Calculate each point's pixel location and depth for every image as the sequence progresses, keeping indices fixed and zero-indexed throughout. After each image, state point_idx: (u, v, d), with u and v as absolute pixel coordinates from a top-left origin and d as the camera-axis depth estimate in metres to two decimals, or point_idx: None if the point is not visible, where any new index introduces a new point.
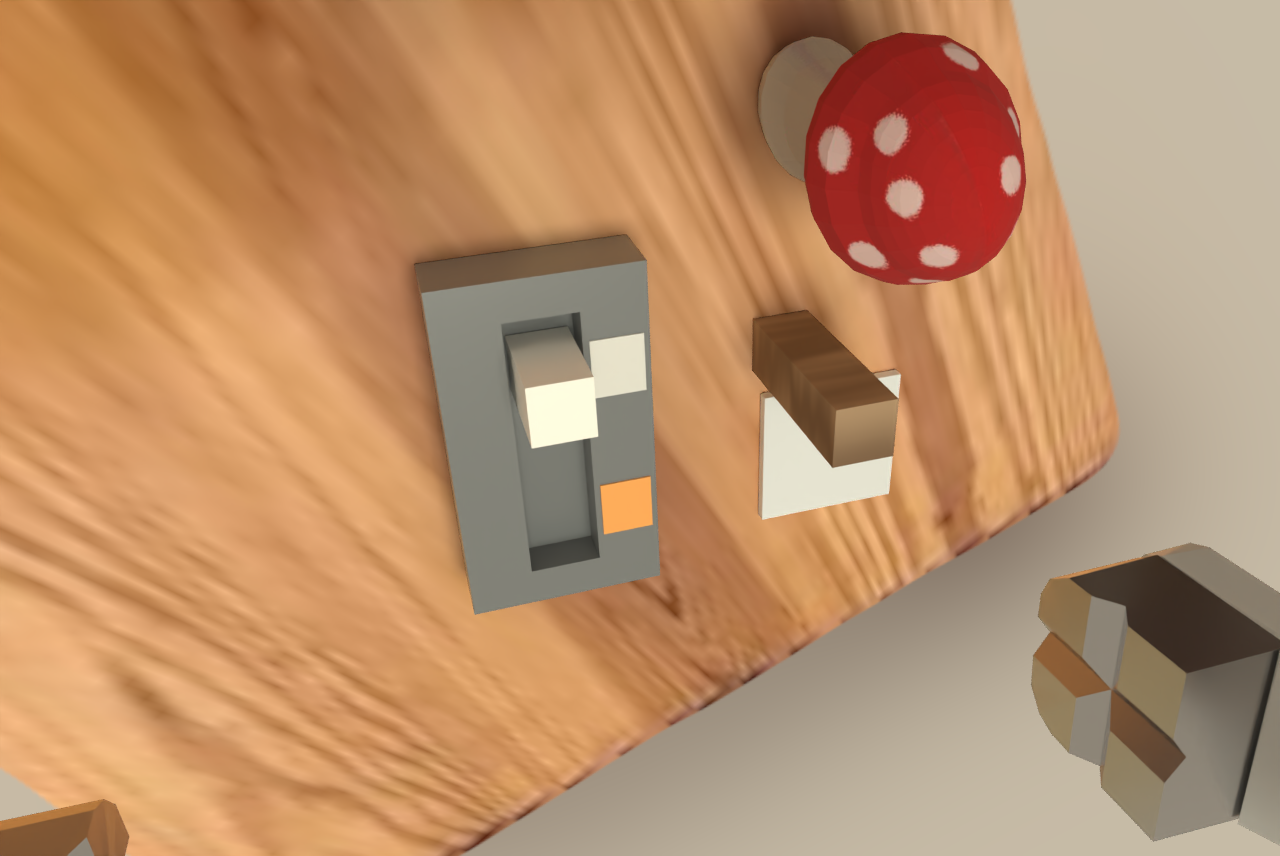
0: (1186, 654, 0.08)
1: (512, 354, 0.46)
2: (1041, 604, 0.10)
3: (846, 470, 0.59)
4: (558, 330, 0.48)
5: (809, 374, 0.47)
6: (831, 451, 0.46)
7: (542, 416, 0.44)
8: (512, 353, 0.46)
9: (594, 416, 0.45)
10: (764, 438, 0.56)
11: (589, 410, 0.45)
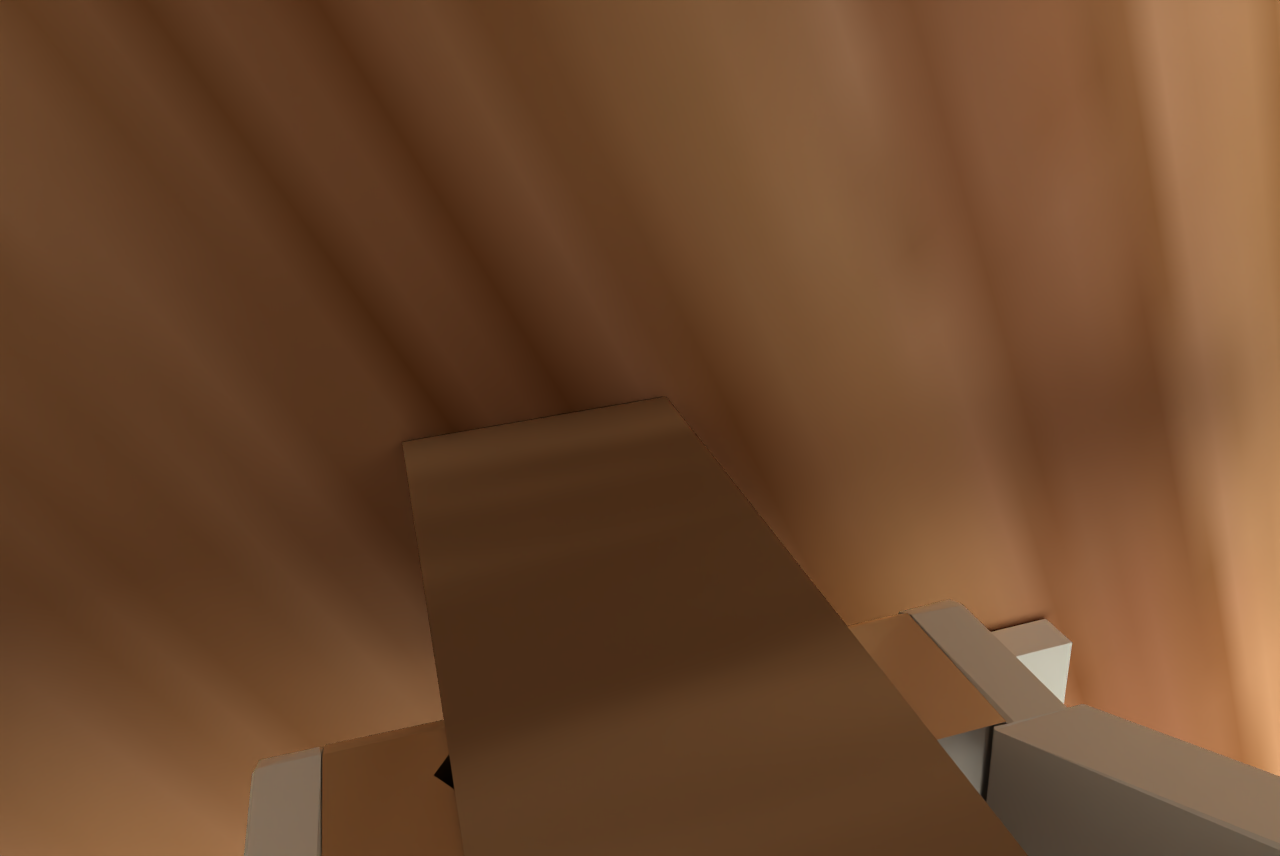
0: None
1: None
2: None
3: None
4: None
5: None
6: None
7: None
8: None
9: None
10: None
11: None
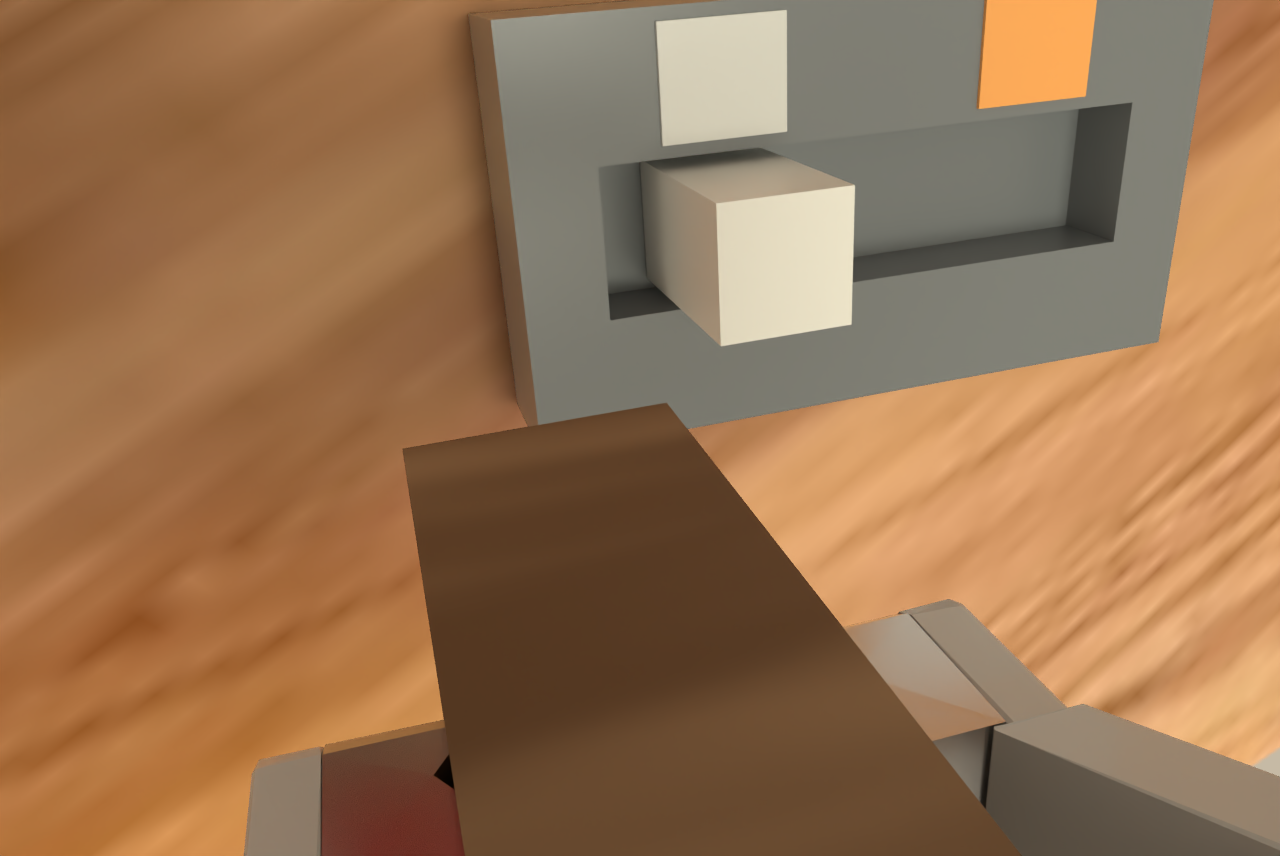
0: None
1: (671, 298, 0.24)
2: None
3: None
4: (644, 181, 0.25)
5: None
6: None
7: (787, 306, 0.21)
8: (670, 297, 0.24)
9: (807, 196, 0.21)
10: None
11: (791, 208, 0.21)
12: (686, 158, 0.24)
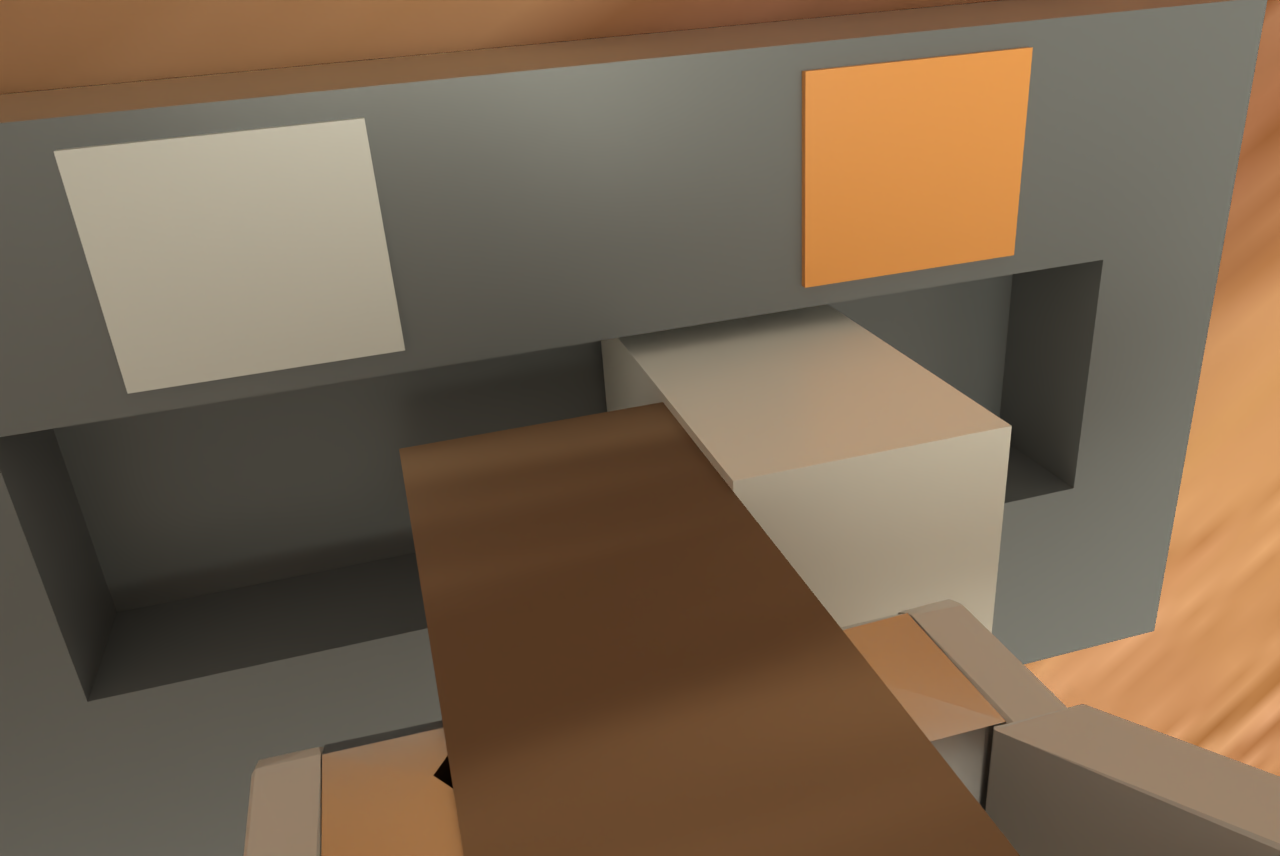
0: None
1: None
2: None
3: None
4: (605, 353, 0.14)
5: None
6: None
7: None
8: None
9: (917, 452, 0.10)
10: None
11: (885, 478, 0.10)
12: None
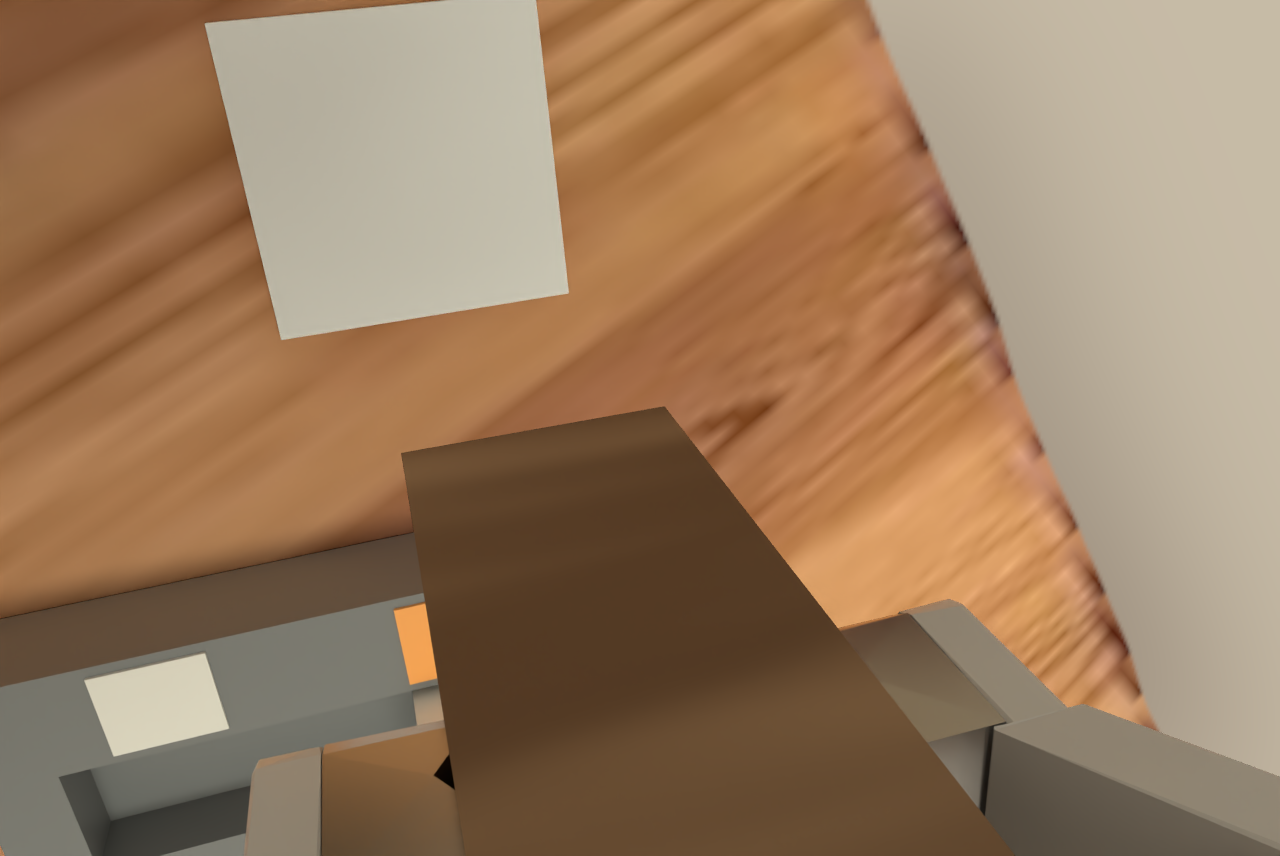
0: None
1: None
2: None
3: (463, 119, 0.27)
4: None
5: None
6: None
7: None
8: None
9: None
10: (375, 323, 0.28)
11: None
12: None
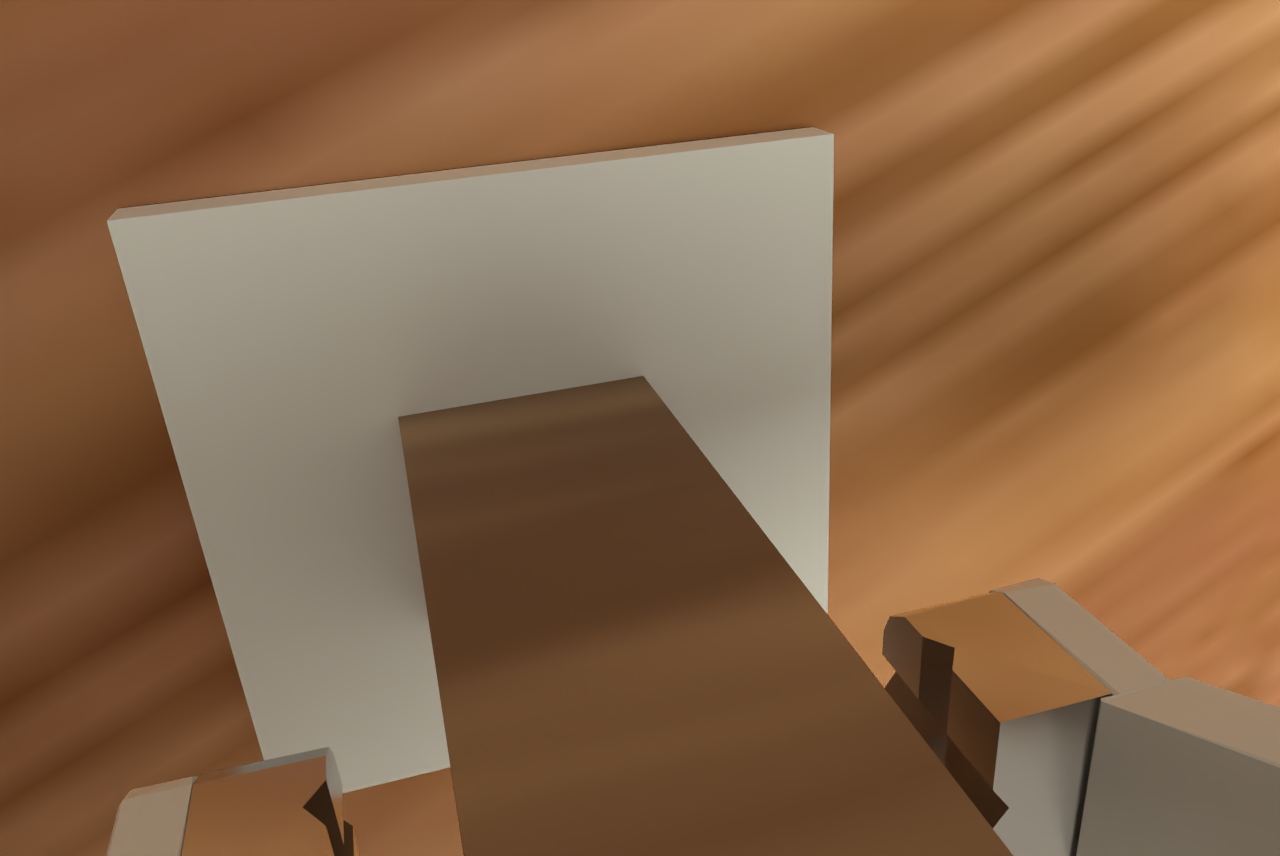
0: (1005, 702, 0.08)
1: None
2: (884, 642, 0.09)
3: (664, 389, 0.13)
4: None
5: (503, 816, 0.06)
6: None
7: None
8: None
9: None
10: None
11: None
12: None
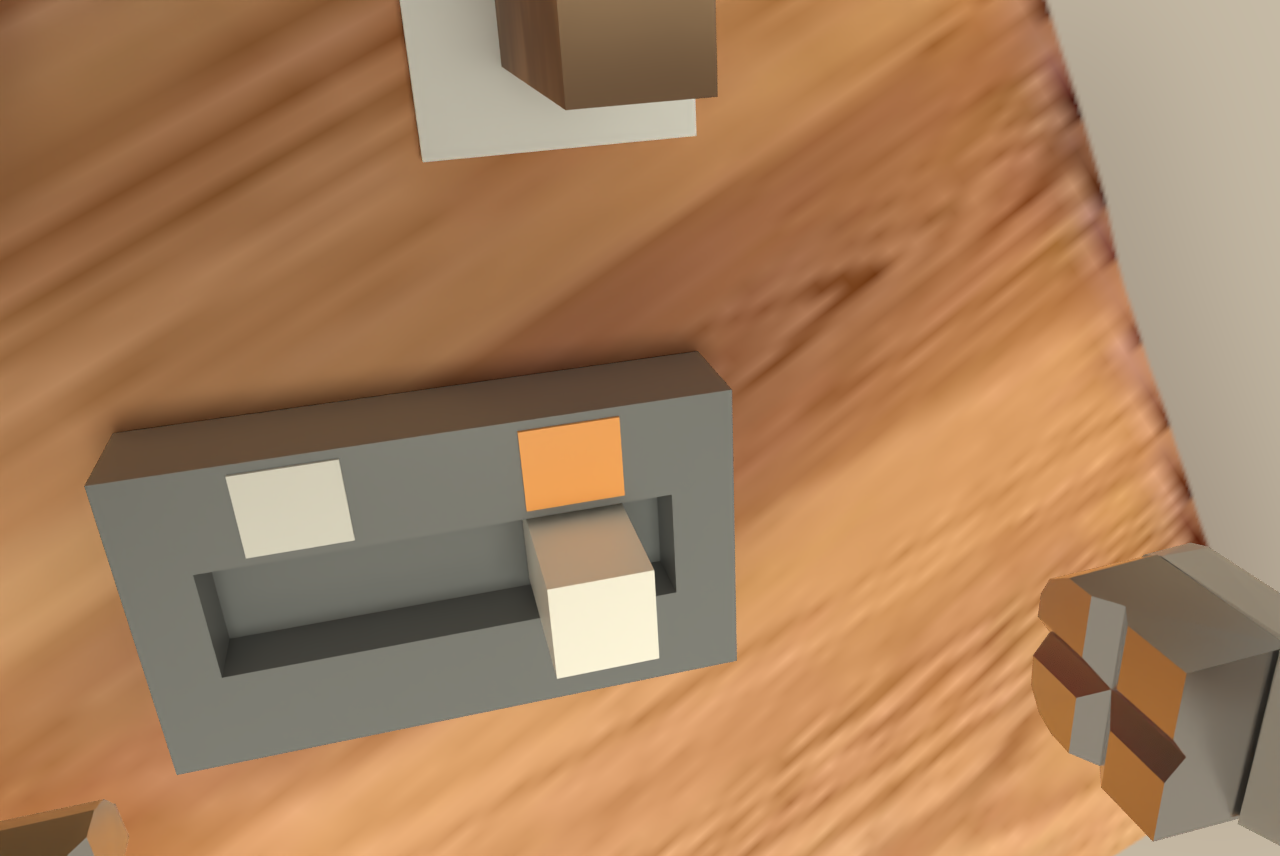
0: (1186, 654, 0.08)
1: (539, 610, 0.32)
2: (1041, 604, 0.10)
3: None
4: None
5: None
6: (560, 66, 0.19)
7: (607, 650, 0.29)
8: (538, 609, 0.32)
9: (617, 579, 0.28)
10: (512, 152, 0.29)
11: (605, 588, 0.28)
12: None
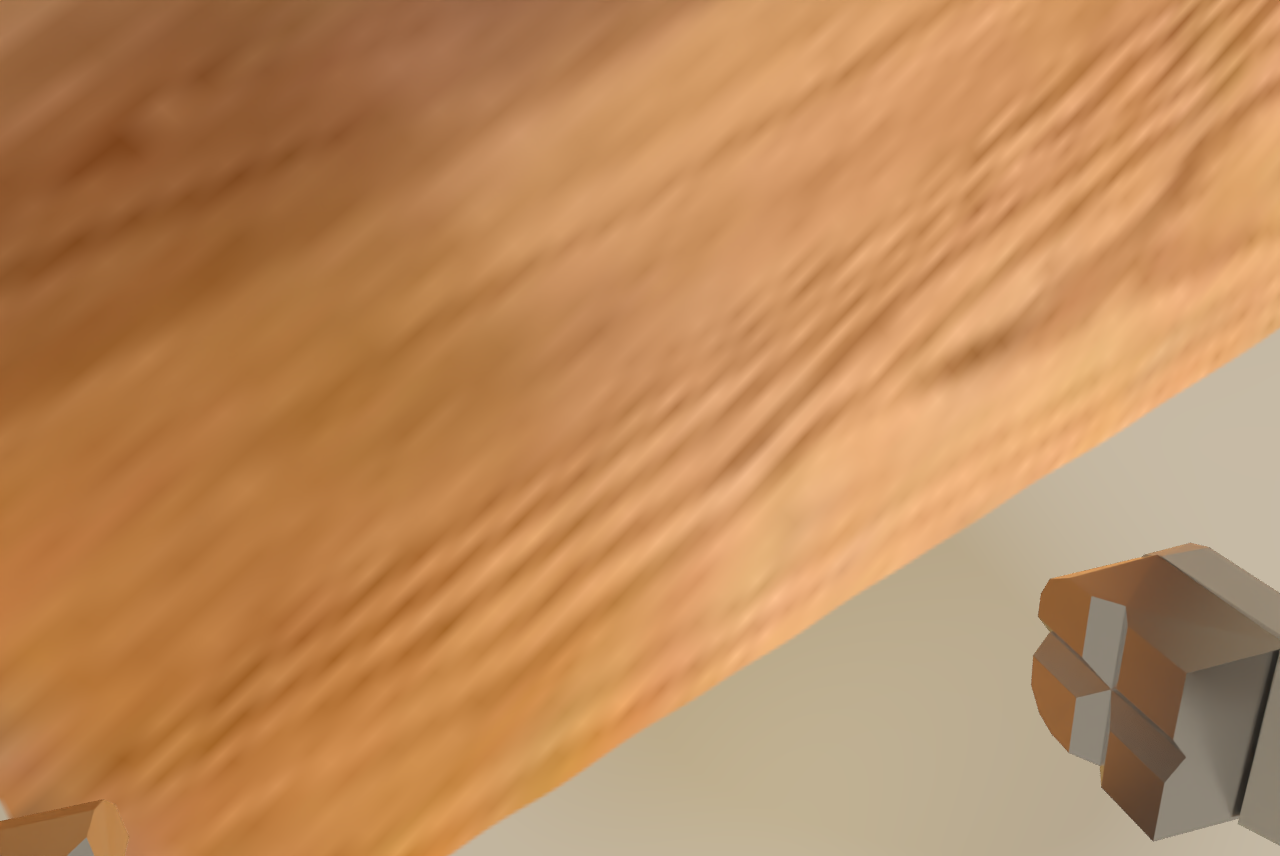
0: (1186, 654, 0.08)
1: None
2: (1041, 604, 0.10)
3: None
4: None
5: None
6: None
7: None
8: None
9: None
10: None
11: None
12: None
